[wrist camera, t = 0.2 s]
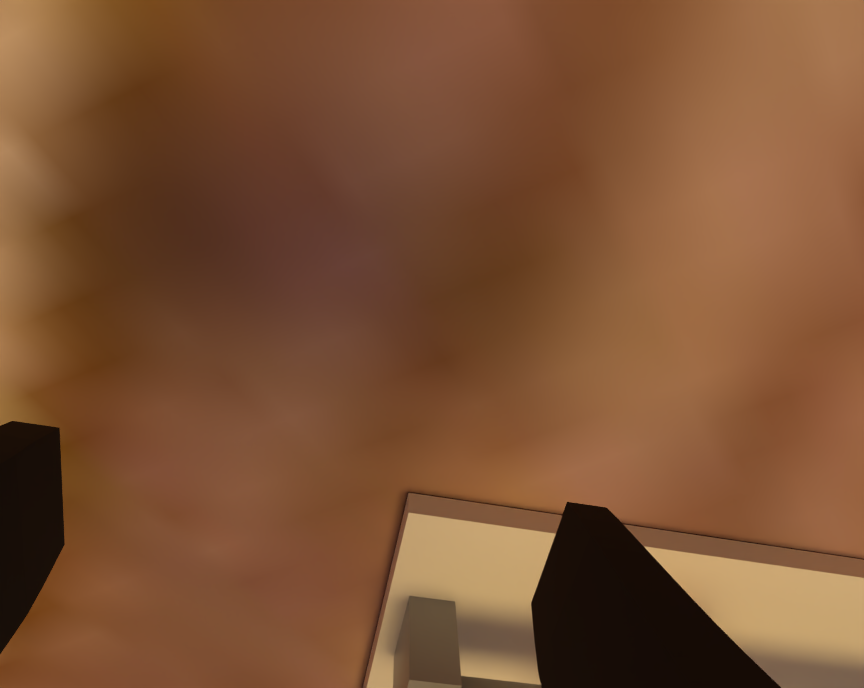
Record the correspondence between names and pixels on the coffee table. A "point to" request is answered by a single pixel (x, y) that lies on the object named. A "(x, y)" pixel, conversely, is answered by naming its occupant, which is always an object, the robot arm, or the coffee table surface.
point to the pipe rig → (520, 573)
